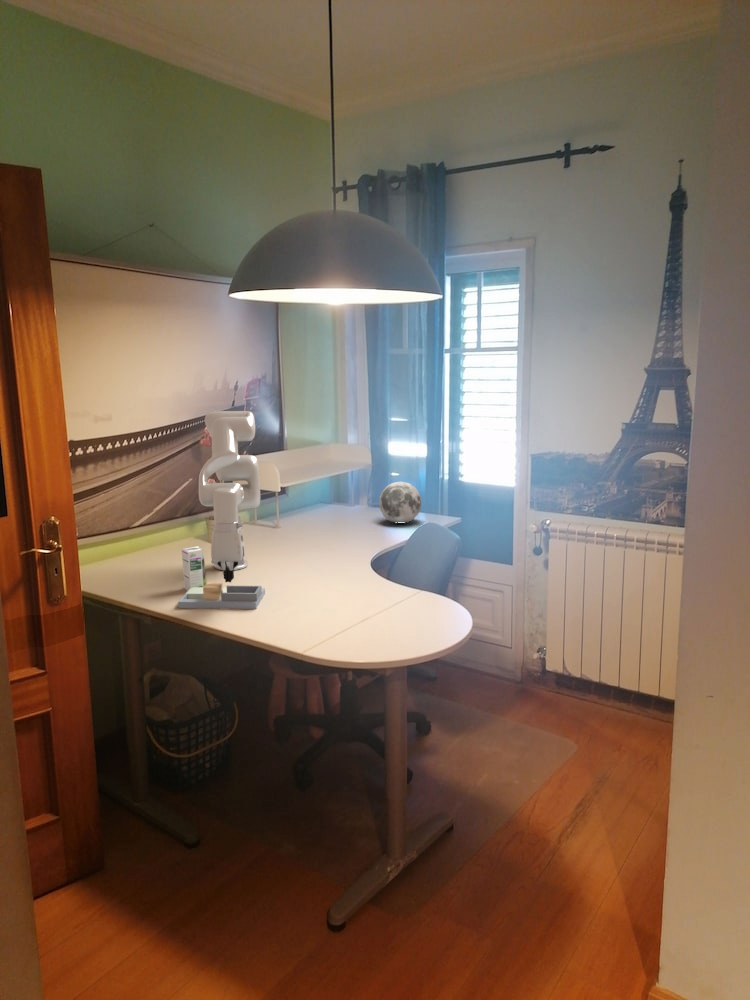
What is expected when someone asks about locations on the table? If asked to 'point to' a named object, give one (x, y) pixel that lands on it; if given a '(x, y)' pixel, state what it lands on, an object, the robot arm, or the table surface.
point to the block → (212, 591)
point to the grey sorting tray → (224, 598)
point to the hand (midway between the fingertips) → (228, 580)
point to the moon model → (400, 502)
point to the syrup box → (193, 567)
